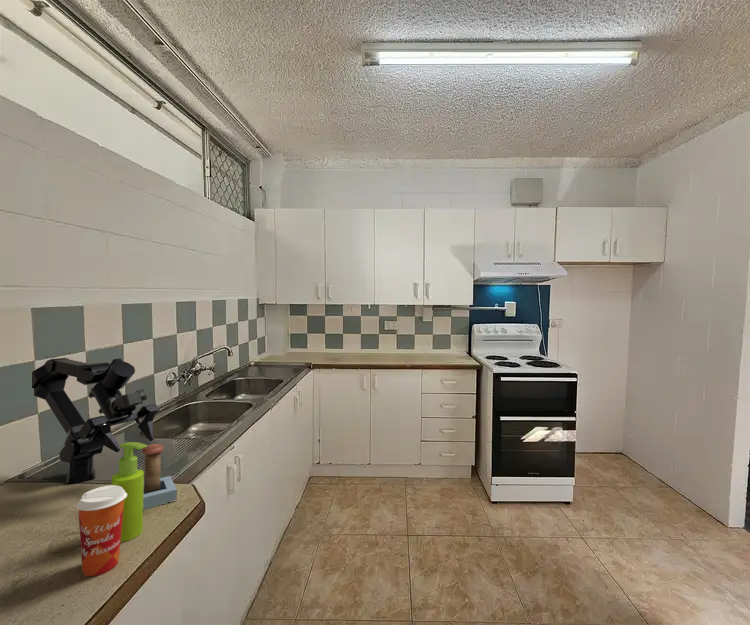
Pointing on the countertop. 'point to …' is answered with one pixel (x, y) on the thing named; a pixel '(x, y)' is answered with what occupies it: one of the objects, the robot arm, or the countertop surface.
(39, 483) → the countertop surface
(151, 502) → the hole block
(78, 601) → the countertop surface
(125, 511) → the soap dispenser
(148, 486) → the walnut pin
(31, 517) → the countertop surface
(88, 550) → the paper cup
